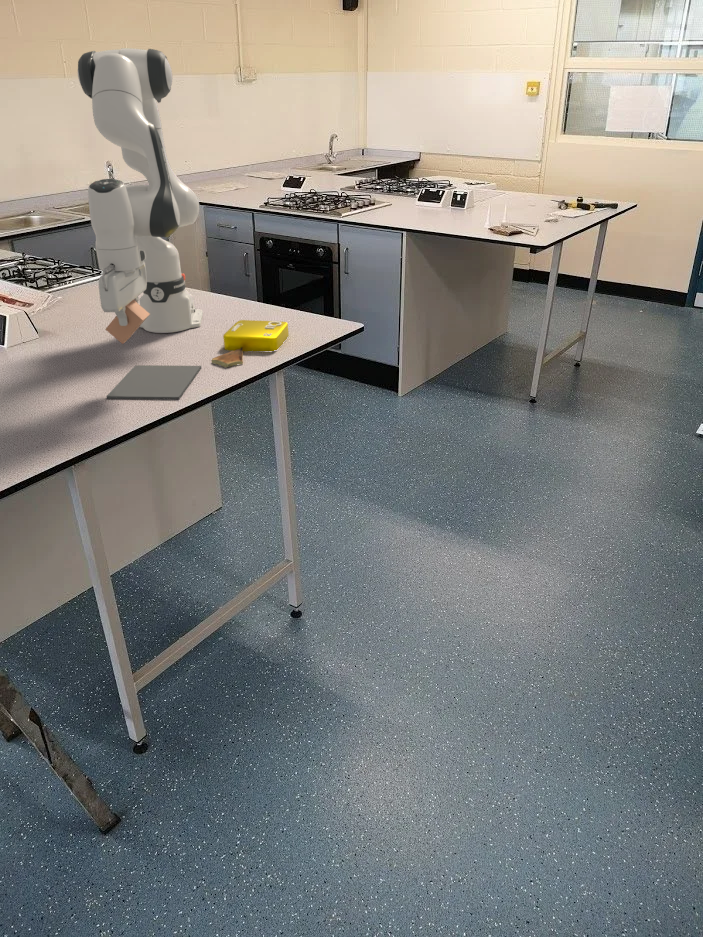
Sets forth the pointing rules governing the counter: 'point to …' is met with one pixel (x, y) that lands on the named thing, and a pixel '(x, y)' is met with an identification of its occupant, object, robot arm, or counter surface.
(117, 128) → the robot arm
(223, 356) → the shard
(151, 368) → the charcoal mat
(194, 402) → the counter surface
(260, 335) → the element tile
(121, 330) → the terracotta block
